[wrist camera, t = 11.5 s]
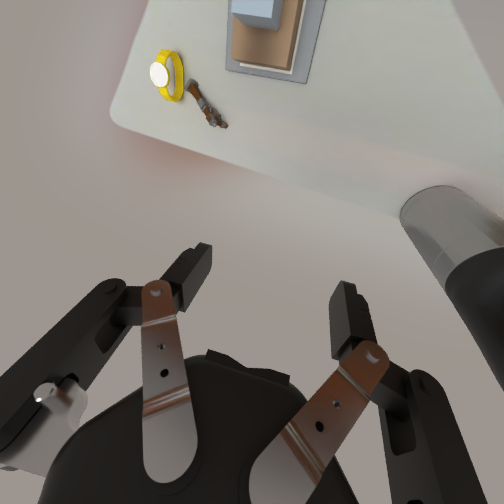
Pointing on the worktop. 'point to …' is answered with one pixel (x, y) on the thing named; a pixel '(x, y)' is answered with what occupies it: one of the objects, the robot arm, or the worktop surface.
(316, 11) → the build pad
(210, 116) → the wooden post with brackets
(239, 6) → the gray block
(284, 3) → the walnut block
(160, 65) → the watch
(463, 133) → the worktop surface
